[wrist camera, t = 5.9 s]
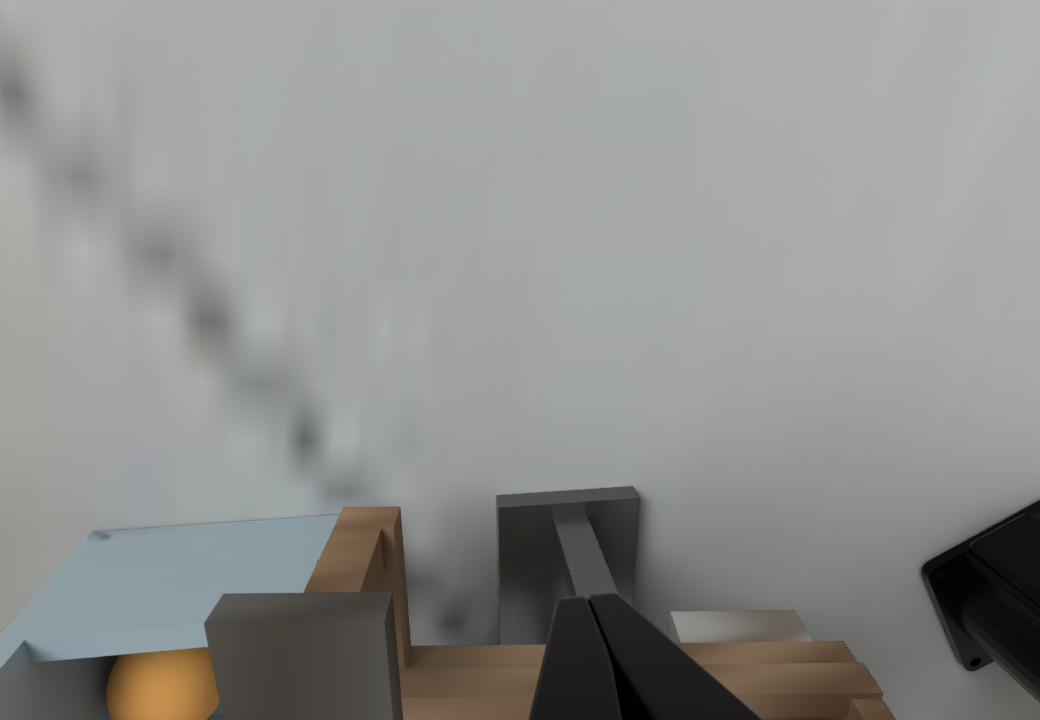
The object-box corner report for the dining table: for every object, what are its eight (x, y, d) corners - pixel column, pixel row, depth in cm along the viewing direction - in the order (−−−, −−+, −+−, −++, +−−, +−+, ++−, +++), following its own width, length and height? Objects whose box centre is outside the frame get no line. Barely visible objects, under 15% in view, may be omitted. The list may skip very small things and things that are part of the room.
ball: (97, 680, 21) (207, 629, 23) (128, 781, 20) (242, 717, 22) (86, 636, 19) (208, 585, 21) (121, 746, 18) (248, 678, 20)
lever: (840, 435, 18) (1043, 614, 11) (788, 731, 22) (917, 1006, 15) (323, 439, 18) (203, 624, 11) (357, 737, 22) (284, 1016, 15)
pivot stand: (632, 486, 23) (707, 617, 17) (620, 682, 26) (679, 858, 20) (496, 495, 22) (518, 634, 16) (499, 695, 25) (520, 880, 19)
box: (352, 513, 22) (315, 670, 15) (372, 701, 25) (347, 903, 18) (92, 531, 21) (-65, 706, 14) (143, 724, 24) (29, 946, 17)
